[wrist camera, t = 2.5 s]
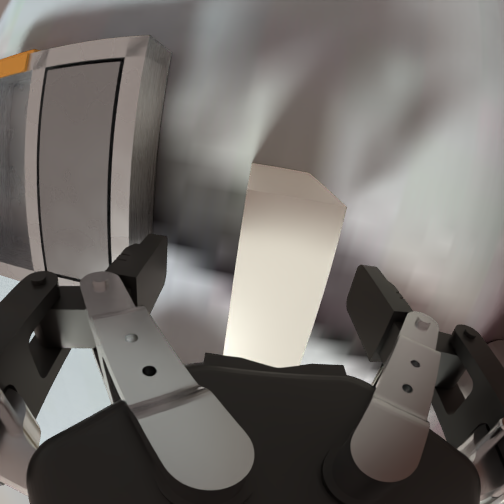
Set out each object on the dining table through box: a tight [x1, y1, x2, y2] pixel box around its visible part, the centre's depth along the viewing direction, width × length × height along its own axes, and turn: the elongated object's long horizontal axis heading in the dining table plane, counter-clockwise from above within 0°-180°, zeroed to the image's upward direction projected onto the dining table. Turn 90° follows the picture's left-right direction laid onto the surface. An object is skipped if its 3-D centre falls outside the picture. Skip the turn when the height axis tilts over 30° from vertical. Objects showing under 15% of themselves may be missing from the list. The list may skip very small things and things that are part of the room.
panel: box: [223, 163, 347, 368], centre depth 13 cm, size 3×8×7 cm, turn 172°
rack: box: [0, 35, 172, 286], centre depth 13 cm, size 12×13×4 cm
